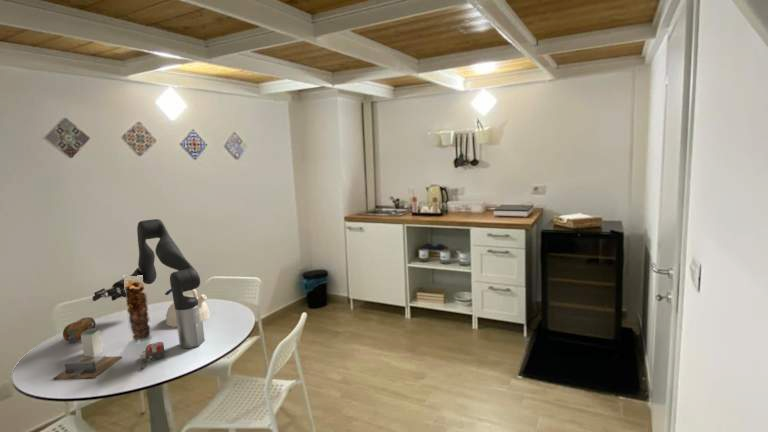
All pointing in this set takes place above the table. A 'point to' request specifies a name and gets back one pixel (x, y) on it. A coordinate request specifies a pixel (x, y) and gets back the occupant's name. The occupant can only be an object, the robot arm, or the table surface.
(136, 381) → the table surface
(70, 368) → the block
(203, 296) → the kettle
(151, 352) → the walkie-talkie
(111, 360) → the mounting board
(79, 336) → the tin
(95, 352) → the block
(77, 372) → the rail
